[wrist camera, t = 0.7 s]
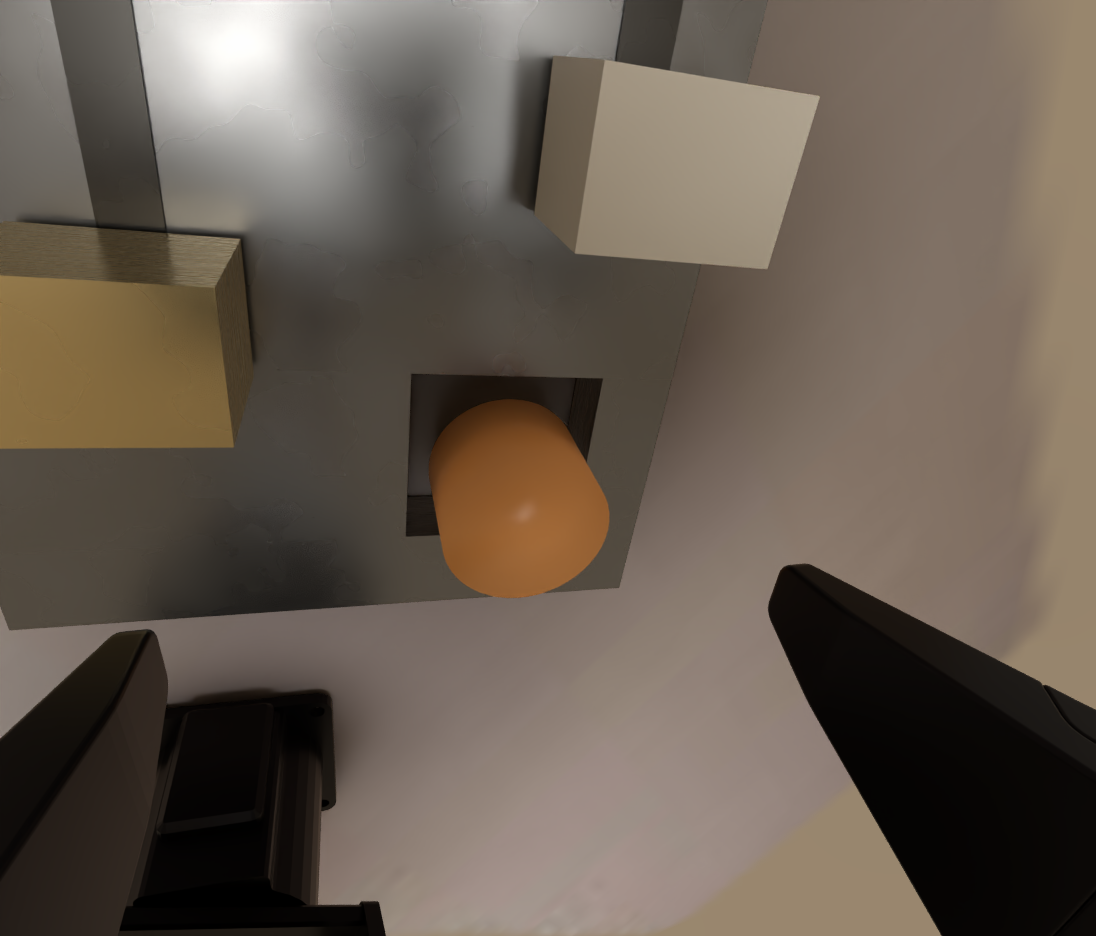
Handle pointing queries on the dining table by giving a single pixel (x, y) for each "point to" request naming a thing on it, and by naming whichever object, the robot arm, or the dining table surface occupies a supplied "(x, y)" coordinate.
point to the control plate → (331, 278)
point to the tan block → (121, 338)
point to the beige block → (668, 163)
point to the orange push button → (515, 500)
